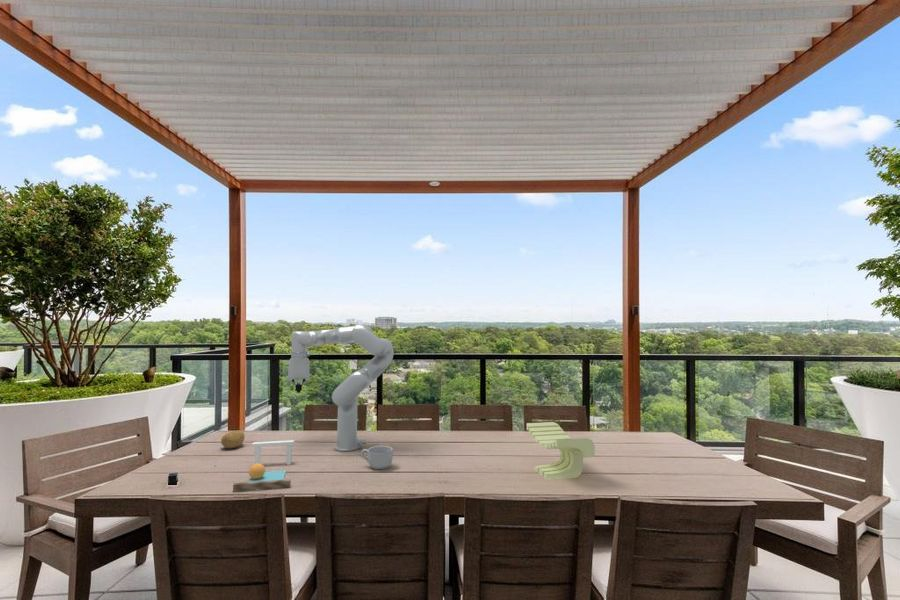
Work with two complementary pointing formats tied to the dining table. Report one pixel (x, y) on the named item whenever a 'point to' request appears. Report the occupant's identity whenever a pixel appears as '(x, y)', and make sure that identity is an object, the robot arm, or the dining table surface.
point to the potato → (233, 439)
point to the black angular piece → (172, 478)
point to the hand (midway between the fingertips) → (298, 392)
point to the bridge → (273, 443)
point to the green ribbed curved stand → (561, 450)
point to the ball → (256, 471)
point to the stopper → (262, 485)
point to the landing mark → (270, 476)
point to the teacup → (379, 456)
